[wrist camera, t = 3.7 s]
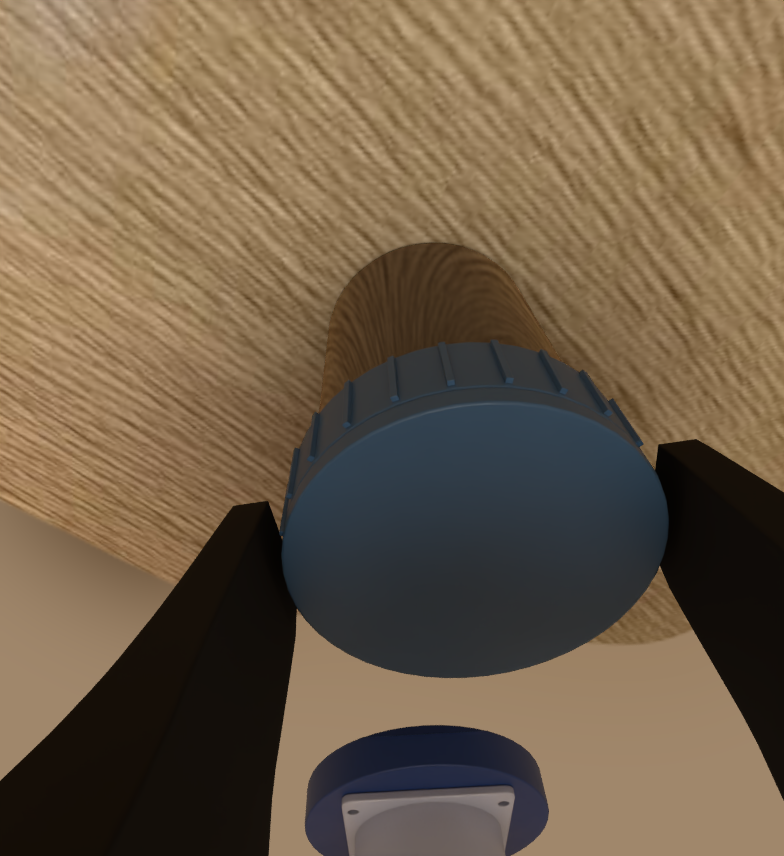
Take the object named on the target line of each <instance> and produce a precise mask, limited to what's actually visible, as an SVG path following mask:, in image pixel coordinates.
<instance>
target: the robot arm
mask: <svg viewBox="0 0 784 856" xmlns="http://www.w3.org/2000/svg"><path fill="white" fill-rule="evenodd" d="M655 472H656V473H657V475H658V477H659V480H660V483H661V485H662V488H663V491H664V494H665V497H666V501H667V508H668V515H669V527H668V540H667V544H666V548H665V552H664V556H663V559H662V561H661V563H660V567H661V569H662V572H663V574H664V576H665V578H666V581H667V583H668V585H669V588H670V590H671V591H672V593H673V595H674V597H675V599H676V600H677V602H678V604H679V606H680V607H681V609H682V611H683V613H684V614H685V616H686V618H687V620H688V622H689V623H690V625H691V627H692V629H693V630H694V632H695V634H696V635H697V637H698V639H699V641H700V642H701V644H702V646H703V648H704V649H705V651H706V653H707V654H708V656H709V658H710V659H711V661H712V663H713V665H714V666H715V668H716V670H717V672H718V673H719V675H720V677H721V679H722V680H723V682H724V684H725V686H726V687H727V689H728V691H729V692H730V694H731V696H732V698H733V699H734V701H735V703H736V704H737V706H738V708H739V710H740V711H741V713H742V715H743V717H744V719H745V720H746V723H747V724H748V726H749V728H750V730H751V732H752V734H753V736H754V738H755V740H756V742H757V744H758V745H759V748H760V750H761V752H762V754H763V756H764V758H765V761H766V763H767V765H768V767H769V770H770V772H771V774H772V776H773V778H774V780H775V783H776V785H777V787H778V789H779V791H780V793H781V796H782V798H783V800H784V492H782V491H781V490H779V489H777V488H776V487H774V486H772V485H771V484H769V483H768V482H766V481H764V480H763V479H761V478H759V477H758V476H756V475H755V474H753V473H751V472H750V471H748V470H747V469H745V468H743V467H742V466H740V465H739V464H737V463H735V462H734V461H732V460H730V459H729V458H727V457H726V456H724V455H722V454H721V453H719V452H717V451H716V450H714V449H712V448H711V447H709V446H707V445H706V444H704V443H702V442H700V441H699V440H697V439H694V440H687V441H680V442H673V443H666V444H659V445H658V453H657V460H656V468H655ZM281 552H282V538H281V536H280V533H279V530H278V527H277V524H276V522H275V519H274V516H273V513H272V510H271V508H270V505H269V502H268V501H264V502H257V503H250V504H243V505H236V506H233V507H232V509H231V510H230V511H229V513H228V514H227V515H226V517H225V518H224V519H223V521H222V522H221V523H220V525H219V526H218V528H217V529H216V531H215V532H214V533H213V535H212V536H211V538H210V539H209V540H208V542H207V543H206V545H205V546H204V548H203V549H202V550H201V552H200V553H199V555H198V556H197V557H196V559H195V560H194V562H193V563H192V564H191V566H190V567H189V569H188V570H187V571H186V573H185V574H184V575H183V577H182V578H181V579H180V581H179V582H178V584H177V585H176V586H175V588H174V589H173V590H172V592H171V593H170V594H169V596H168V597H167V598H166V600H165V601H164V602H163V604H162V605H161V606H160V608H159V609H158V610H157V612H156V613H155V614H154V616H153V617H152V618H151V619H150V621H149V622H148V623H147V624H146V626H145V627H144V628H143V629H142V630H141V632H140V633H139V634H138V635H137V637H136V638H135V639H134V640H133V642H132V643H131V644H130V645H129V646H128V648H127V649H126V650H125V652H124V653H123V654H122V655H121V656H120V658H119V659H118V660H117V661H116V662H115V663H114V665H113V666H112V667H111V668H110V669H109V671H108V672H107V673H106V674H105V675H104V676H103V677H102V678H101V679H100V681H99V682H98V683H97V684H96V685H95V686H94V687H93V688H92V690H91V691H90V692H89V693H88V694H87V695H86V696H85V697H84V698H83V699H82V700H81V701H80V702H79V703H78V704H77V705H76V707H75V708H74V709H73V710H72V711H71V712H70V713H69V714H68V715H67V716H66V717H65V718H64V719H63V720H62V722H60V723H59V724H58V725H57V727H56V728H55V729H54V730H53V731H52V732H51V733H50V734H49V735H48V736H47V737H46V738H45V739H43V740H42V741H41V742H40V743H39V744H38V745H37V746H36V747H35V748H34V749H33V750H32V751H31V752H30V753H29V754H28V755H27V756H26V757H25V758H24V759H23V760H22V761H21V762H20V763H18V764H17V765H16V766H15V767H14V768H13V769H12V770H11V771H10V772H9V773H8V774H7V775H6V776H5V777H4V778H3V779H2V780H1V781H0V856H268V855H269V839H270V821H271V807H272V795H273V786H274V778H275V769H276V762H277V756H278V750H279V743H280V737H281V730H282V724H283V717H284V710H285V704H286V697H287V691H288V685H289V678H290V672H291V665H292V658H293V652H294V644H295V637H296V613H297V607H296V606H295V603H294V601H293V599H292V597H291V595H290V593H289V591H288V589H287V585H286V582H285V578H284V575H283V568H282V557H281ZM514 799H515V795H514V790H513V788H512V787H511V786H509V785H492V786H474V787H456V788H438V789H420V790H402V791H384V792H366V793H351V794H347V795H345V796H344V797H343V798H342V813H343V819H344V825H345V831H346V837H347V843H348V850H349V856H505V848H506V842H507V837H508V832H509V826H510V821H511V816H512V810H513V805H514Z"/></svg>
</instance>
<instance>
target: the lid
mask: <svg viewBox="0 0 784 856" xmlns="http://www.w3.org/2000/svg"><path fill="white" fill-rule="evenodd" d="M642 445H643V442H642V441H641V439H640V438H639V436H638V435H637V433H636V432H635V430H634V429H633V427H632V426H631V424H630V423H629V421H628V420H627V418H626V417H625V416H624V414H623V413H622V411H621V410H620V408H619V407H618V405H617V404H616V402H615V401H614V399H611V400H609V401H608V400H607V399H606V398H605V396H604V395H603V394H602V393H601V392H600V390H599V389H598V388H597V387H596V386H595V384H594V383H593V381H592V380H591V378H590V377H589V375H588V374H587V372H585V371H584V370H581V371H580V372H578V371H576V370H574V369H573V368H571V367H569V366H568V365H566V364H565V363H563V362H561V361H559V360H556V359H554V358H552V357H550V356H549V354H548V353H547V351H545V350H542V349H541V350H540V351H539V352H536V351H533V350H529V349H525V348H522V347H518V346H512V345H505V344H499V342H498V340H491V341H490V343H480V342H465V343H455V344H445V342H439V343H438V346H434V347H430V348H425V349H421V350H416V351H413V352H410V353H408V354H405V355H402V356H399V357H396V358H395V357H394V356H391V357H388V358H387V362H385V363H383V364H381V365H379V366H377V367H375V368H373V369H371V370H369V371H368V372H366V373H365V374H363V375H361V376H360V377H358V378H357V379H355V380H354V381H352V382H351V381H350V380H348V381H347V382H345V383H344V389H343V390H341V391H340V392H339V393H338V394H337V395H336V396H334V397H333V398H332V399H331V400H330V401H329V403H328V404H327V405H326V406H325V407H324V408H323V409H322V411H321V412H320V413H317V412H315V413H314V414H313V416H312V422H311V426H310V427H309V429H308V431H307V432H306V435H305V437H304V439H303V441H302V443H301V446H300V448H295V449H294V451H293V457H292V463H291V469H290V475H289V481H288V484H287V490H286V496H285V502H284V508H283V514H282V520H281V526H280V536H283V541H282V552H281V557H282V568H283V575H284V578H285V582H286V585H287V589H288V591H289V593H290V595H291V597H292V599H293V601H294V603H295V606H296V607H297V609H298V610H299V611H300V613H301V614H302V616H303V617H304V618H305V620H306V621H307V622H308V623H309V624H310V625H311V626H312V627H313V628H314V629H315V630H316V631H317V632H318V634H320V635H321V636H323V637H324V638H325V639H326V640H327V641H329V642H330V643H331V644H333V645H334V646H336V647H337V648H339V649H341V650H342V651H344V652H346V653H347V654H349V655H351V656H353V657H356V658H358V659H360V660H362V661H365V662H366V663H369V664H372V665H375V666H378V667H381V668H384V669H388V670H392V671H396V672H400V673H404V674H411V675H418V676H424V677H439V678H467V677H479V676H489V675H494V674H501V673H507V672H511V671H515V670H519V669H523V668H527V667H531V666H534V665H537V664H540V663H543V662H546V661H549V660H551V659H553V658H556V657H558V656H561V655H563V654H565V653H568V652H570V651H572V650H574V649H576V648H577V647H579V646H581V645H583V644H585V643H587V642H589V641H590V640H592V639H593V638H595V637H596V636H598V635H599V634H601V633H602V632H604V631H605V630H607V629H608V628H609V627H610V626H612V625H613V624H614V623H615V622H617V621H618V620H619V619H620V618H621V617H622V616H623V615H624V614H625V613H626V612H627V611H628V610H629V609H630V608H631V607H632V606H633V605H634V604H635V603H636V602H637V601H638V600H639V598H640V597H641V596H642V595H643V593H644V592H645V591H646V589H647V588H648V586H649V585H650V583H651V581H652V580H653V578H654V576H655V575H656V573H657V571H658V568H659V566H660V563H661V561H662V559H663V556H664V552H665V548H666V544H667V540H668V527H669V515H668V508H667V501H666V497H665V494H664V491H663V488H662V485H661V483H660V480H659V477H658V475H657V473H656V472H655V470H654V469H653V467H652V466H651V464H650V463H649V461H648V459H647V458H646V456H645V455H644V453H643V452H642V450H641V449H640V446H642Z"/></svg>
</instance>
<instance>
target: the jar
mask: <svg viewBox="0 0 784 856" xmlns="http://www.w3.org/2000/svg"><path fill="white" fill-rule="evenodd" d="M491 340H498V342H499V344H505V345H512V346H518V347H522V348H525V349H529V350H533V351H536V352H539V351H540V350H541V349H542V350H545V351H547V353H548V354H549V356H550V357H552V358H554V359H556V360H559V361H561V359H560V358H559V356H558V354H557V353H556V351H555V349H554V347H553V346H552V344H551V342H550V341H549V339H548V337H547V336H546V334H545V332H544V331H543V329H542V327H541V326H540V324H539V322H538V321H537V319H536V317H535V316H534V314H533V312H532V311H531V309H530V307H529V306H528V304H527V302H526V301H525V299H524V297H523V296H522V294H521V292H520V291H519V289H518V287H517V286H516V284H515V282H514V281H513V280H512V279H511V277H510V276H509V275H508V274H507V273H506V271H504V270H503V269H502V268H501V267H500V266H499V265H498V264H496V263H495V262H494V261H492V260H491V259H489V258H488V257H486V256H484V255H482V254H480V253H478V252H476V251H474V250H471V249H468V248H465V247H462V246H458V245H452V244H446V243H424V244H415V245H411V246H406V247H402V248H399V249H397V250H394V251H391V252H389V253H387V254H385V255H383V256H381V257H379V258H377V259H375V260H374V261H372V262H371V263H370V264H368V265H367V266H366V267H364V268H363V269H362V270H361V271H360V272H359V273H358V274H357V275H355V276H354V277H353V279H352V280H351V281H350V282H349V283H348V285H347V286H346V287H345V288H344V290H343V292H342V293H341V295H340V297H339V298H338V300H337V303H336V305H335V307H334V310H333V312H332V316H331V320H330V323H329V331H328V339H327V348H326V356H325V365H324V373H323V382H322V391H321V399H320V408H319V413H320V412H321V411H322V409H323V408H324V407H325V406H326V405H327V404H328V403H329V401H330V400H331V399H332V398H333V397H334V396H336V395H337V394H338V393H339V392H340V391H341V390H343V389H344V383H345V382H347V381H348V380H350V381H351V382H352V381H354V380H355V379H357V378H358V377H360V376H361V375H363V374H365V373H366V372H368V371H369V370H371V369H373V368H375V367H377V366H379V365H381V364H383V363H385V362H387V358H388V357H391V356H394V357H395V358H396V357H399V356H402V355H405V354H408V353H410V352H413V351H416V350H421V349H425V348H430V347H434V346H438V343H439V342H445V344H455V343H465V342H480V343H490V341H491ZM561 362H562V361H561Z"/></svg>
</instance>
